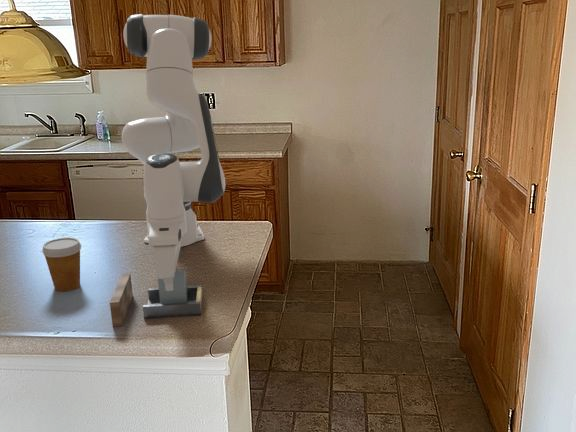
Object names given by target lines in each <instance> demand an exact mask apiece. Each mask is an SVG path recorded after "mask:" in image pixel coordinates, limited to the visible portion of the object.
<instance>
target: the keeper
mask: <svg viewBox="0 0 576 432" xmlns="http://www.w3.org/2000/svg"><path fill="white" fill-rule="evenodd" d="M186 287H187V302H185V303H168V304H160V296H159V287H156V288H155V287H152V288H151V287H150V288H149V287H148V289H147V295H148V296H147V297H148V301H147V304H143V305H142V310H143V311H142V312H143V319H148V320H149V319H162V318H163V319H164V318H178V317H192V316H193V317H195V316H201V315H202V308H203V297H204V296H203V285H188V286H187V285H186Z"/></svg>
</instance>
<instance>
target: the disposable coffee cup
mask: <svg viewBox="0 0 576 432" xmlns="http://www.w3.org/2000/svg"><path fill="white" fill-rule="evenodd" d="M82 246H83V245H82V243H80V241H79V239H77V238H75V237H59V238H54V239H51V240H49V241H46V242H44V244H43V245H42V249H41V253H42V254H43V256H44V257H45V261H46V264H47V268H48V270H49V276H50V277H51V281H52V285H53V287H54V290H55V291H58V292H68V291H69V292H70V291H73V290H77V288H79V287H80V285H81V249H82Z"/></svg>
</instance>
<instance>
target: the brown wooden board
mask: <svg viewBox="0 0 576 432" xmlns="http://www.w3.org/2000/svg"><path fill="white" fill-rule="evenodd" d="M133 296H134V293H133V285H132V276H131V273H121V276H120V277H119V281H118V283H117V285H116V287H115V289H114V292H113V293H112V297H111V299H110V301H109V309H110V317H111V323H112V324H111V325H112V328H117V327H118V328H119V327H123V324H124V321H125V318H126V315H127V313H128V310H129V308H130V304H131V302H132V299H133Z"/></svg>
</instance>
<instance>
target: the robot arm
mask: <svg viewBox="0 0 576 432" xmlns="http://www.w3.org/2000/svg"><path fill="white" fill-rule="evenodd" d="M210 29H211V28H210V26H209V24H208V23H207V22H206V20H205V19H201V18H199V17H195V16H194V17H188V16H183V15H178V14H177V15H176V14H145V15H143V13H139V14H132V15H130V16H129V17H128V18H127V19H126V23H125V24H124V27H123V33H122V34H123V42H124V44H125V46H126V50H127V51H128V52H129V54H131V55H132V56H135V57H138V58H144V57H145V58H146V67H145V68H146V73H145V75H146V77H145V78H146V97H147V99H148V101H149V102H150V104H152V105H153V106H155V107H157V108H158V109H160V110H163V111H165V112H166V114H165V115H164V116H157V117H146V118H145V117H144V118H139V119H135V120H132V121H128V122H127V123H126V124H125V125H124V127H123V128H122V131H121V142H122V146H123V147H124V149H125V150H126V151H127V153H129V155H131V156H133V157H134V158H136V159H137V160H139V161H140V162H141V164H143V175H142V188H143V195H144V196H143V197H144V200H145V202H146V211H145V218H146V226H147V227H146V228H147V229H146V230H147V235H146V236H145V237H144V239H143V242H144V243H146V244H148V245H149V246H150V247H152V248H151V249H152V252H151V253H152V259H153V263H154V264H153V265H154V268H155V269H154V270H155V273H156V277H157V280H158V279H163V280H164V283H165V290H166V291H172V290H173V288H174V282H173V278H174V276H175V271H176V270H178V262H179V257H180V251H181V248H182V247H187V246H189V245H192V244H194V243H197V242H200V241H203V240H205V235H204V233H203V230H202V229H201V227H200V225H199V223H198V221H197V214H196V213H195V211H193V209H192V202H198V203H209V204H213V203H215V202H216V201H217V200H219V199H220V198H221V197H222V196H223V195H224V194H225V190H226V177H225V172H224V170H223V167H222V164H221V162H220V161H221V160H220V157H219V152H218V146H217V142H216V136H215V130H214V125H213V121H212V117H211V116H212V115H211V112H210V111H211V110H210V107H209V103H208V101H207V99H206V98H205V97H206V96H204V95H203V94H200V92H198V90H197V88H196V86H195V83H194V76H193V74H194V73H193V72H194V71H193V68H194V67H193V61H195V60H201V59H203V58H205V57H206V56H207V55H208V54H209V51H210V49H211V46H212V40H213V39H212V38H213V37H212V32H211V30H210ZM196 149H200V154H201V159H199V160H197V161H196V160H195V161H194V160H193V161H180V160H179V158H178V156H177V155H175V154H173V153H182V152H183V153H184V152H191V151H194V150H196Z"/></svg>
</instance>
